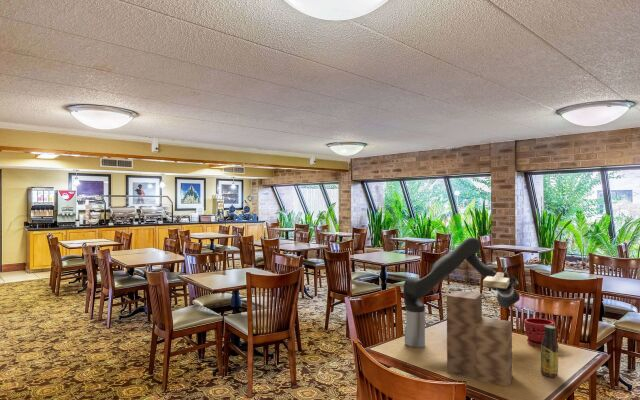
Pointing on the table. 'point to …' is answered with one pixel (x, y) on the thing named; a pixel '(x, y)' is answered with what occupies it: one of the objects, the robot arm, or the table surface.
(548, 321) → the plant pot
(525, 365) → the table surface
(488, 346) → the block
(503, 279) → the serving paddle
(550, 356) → the sauce bottle
